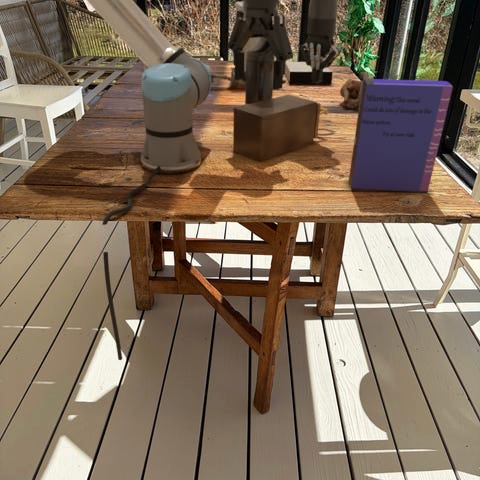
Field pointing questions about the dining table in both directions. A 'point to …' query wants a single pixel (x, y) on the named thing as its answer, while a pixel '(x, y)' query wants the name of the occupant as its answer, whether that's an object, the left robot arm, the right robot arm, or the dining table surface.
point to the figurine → (233, 82)
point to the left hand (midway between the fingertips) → (257, 83)
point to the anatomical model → (352, 91)
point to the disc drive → (304, 73)
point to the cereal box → (398, 134)
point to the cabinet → (273, 126)
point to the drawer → (318, 112)
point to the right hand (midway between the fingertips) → (316, 82)
